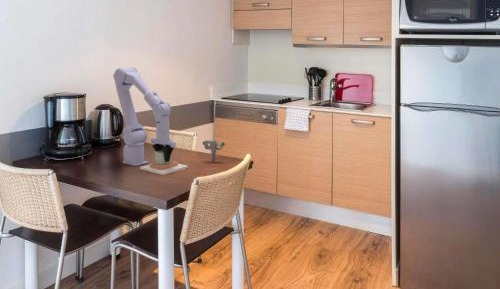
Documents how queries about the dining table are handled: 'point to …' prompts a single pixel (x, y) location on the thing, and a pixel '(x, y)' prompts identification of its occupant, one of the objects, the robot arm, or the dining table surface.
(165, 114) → the robot arm
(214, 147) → the mechanical component
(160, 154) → the striped green box
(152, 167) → the duct plate
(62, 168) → the dining table surface
